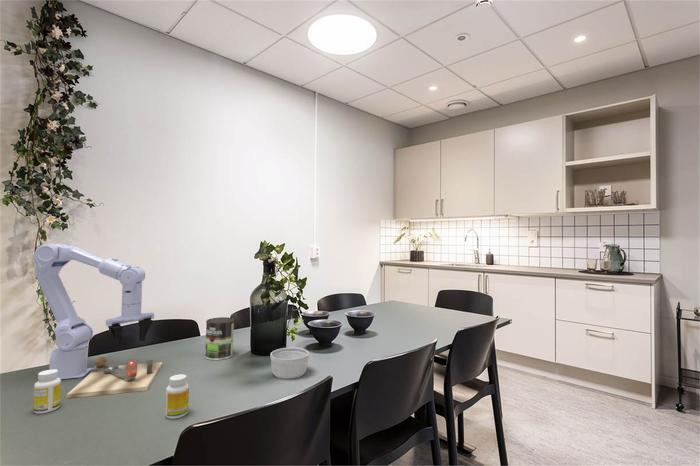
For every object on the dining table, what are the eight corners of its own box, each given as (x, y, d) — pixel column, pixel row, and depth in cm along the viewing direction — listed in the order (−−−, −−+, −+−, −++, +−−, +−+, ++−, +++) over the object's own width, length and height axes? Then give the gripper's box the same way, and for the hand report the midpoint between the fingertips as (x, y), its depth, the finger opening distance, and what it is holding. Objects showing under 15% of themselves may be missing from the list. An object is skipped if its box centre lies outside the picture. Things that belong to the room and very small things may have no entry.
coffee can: (223, 361, 131) (224, 323, 131) (199, 359, 133) (200, 321, 134) (238, 353, 141) (239, 318, 141) (215, 351, 143) (216, 316, 144)
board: (66, 398, 98) (67, 379, 99) (97, 370, 119) (97, 354, 120) (146, 390, 105) (147, 372, 105) (162, 365, 125) (162, 350, 126)
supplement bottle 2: (162, 414, 91) (163, 376, 91) (183, 407, 94) (184, 371, 95) (169, 421, 87) (170, 382, 87) (191, 414, 91) (192, 377, 91)
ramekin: (314, 368, 125) (314, 349, 125) (299, 383, 112) (299, 361, 112) (280, 364, 128) (281, 345, 129) (262, 378, 116) (263, 357, 116)
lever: (101, 371, 115) (102, 354, 115) (115, 367, 118) (115, 351, 118) (126, 382, 106) (127, 364, 106) (140, 378, 110) (141, 360, 110)
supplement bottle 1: (57, 402, 96) (59, 366, 96) (62, 408, 93) (63, 371, 93) (31, 409, 92) (32, 372, 92) (35, 416, 88) (36, 377, 89)
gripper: (113, 307, 110) (112, 351, 110) (159, 301, 123) (158, 340, 122) (103, 305, 114) (101, 347, 114) (148, 299, 126) (147, 337, 126)
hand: (130, 343), depth 118 cm, fingers open, 7 cm apart
